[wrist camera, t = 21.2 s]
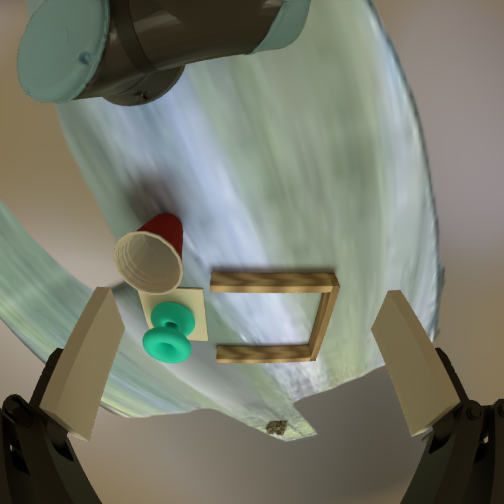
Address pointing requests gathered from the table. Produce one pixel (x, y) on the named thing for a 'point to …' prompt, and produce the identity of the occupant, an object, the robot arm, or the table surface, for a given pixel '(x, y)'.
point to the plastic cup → (152, 255)
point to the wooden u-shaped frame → (279, 285)
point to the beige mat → (186, 298)
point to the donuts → (169, 333)
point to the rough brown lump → (277, 428)
